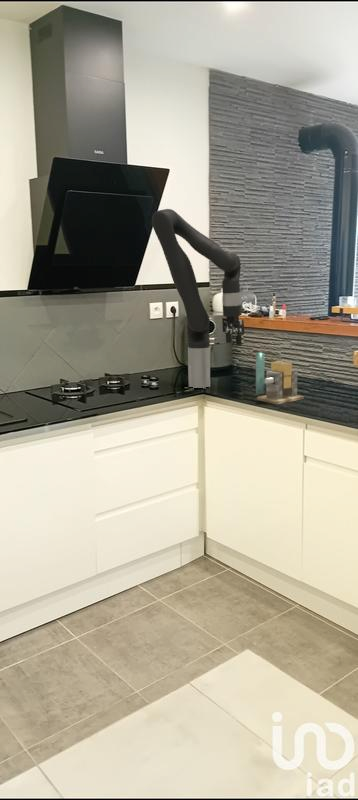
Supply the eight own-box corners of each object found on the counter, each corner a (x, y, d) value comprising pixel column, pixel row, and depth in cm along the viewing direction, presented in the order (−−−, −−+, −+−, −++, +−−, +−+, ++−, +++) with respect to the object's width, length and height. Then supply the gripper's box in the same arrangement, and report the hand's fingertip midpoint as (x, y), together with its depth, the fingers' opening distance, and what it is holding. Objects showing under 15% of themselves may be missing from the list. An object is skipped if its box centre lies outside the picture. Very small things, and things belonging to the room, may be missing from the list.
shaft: (259, 394, 229) (260, 353, 226) (254, 392, 232) (254, 352, 228) (293, 387, 239) (294, 349, 236) (287, 386, 241) (288, 348, 238)
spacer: (283, 388, 233) (284, 364, 231) (270, 385, 239) (271, 361, 237) (291, 387, 235) (291, 363, 233) (278, 384, 241) (278, 360, 239)
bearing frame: (277, 404, 230) (277, 375, 227) (257, 399, 238) (257, 371, 236) (303, 398, 237) (304, 370, 235) (283, 394, 246) (283, 367, 244)
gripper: (215, 304, 255) (217, 343, 259) (231, 306, 242) (234, 347, 246) (231, 302, 258) (233, 341, 261) (248, 304, 245) (250, 344, 249)
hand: (233, 343), depth 254 cm, fingers open, 8 cm apart
